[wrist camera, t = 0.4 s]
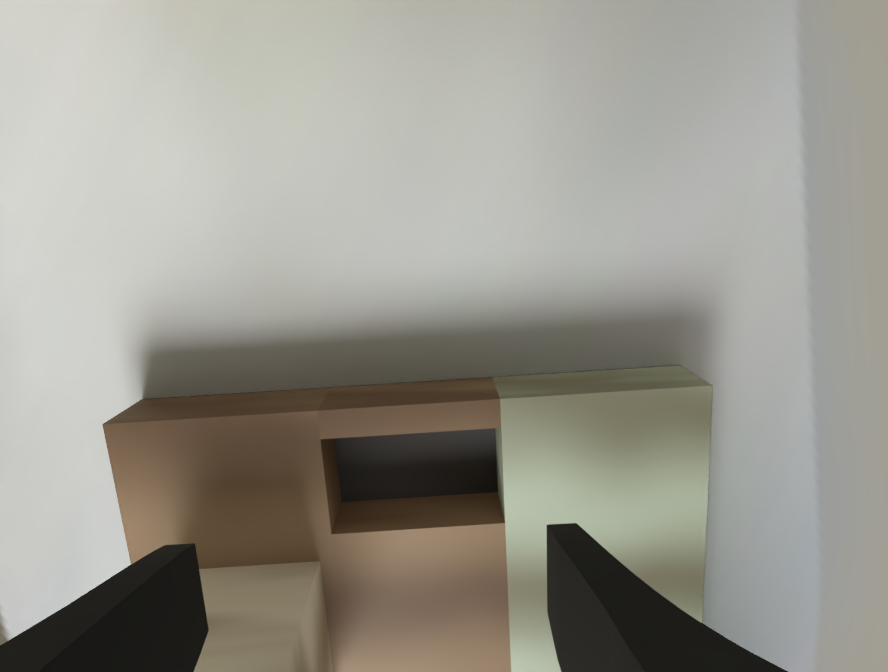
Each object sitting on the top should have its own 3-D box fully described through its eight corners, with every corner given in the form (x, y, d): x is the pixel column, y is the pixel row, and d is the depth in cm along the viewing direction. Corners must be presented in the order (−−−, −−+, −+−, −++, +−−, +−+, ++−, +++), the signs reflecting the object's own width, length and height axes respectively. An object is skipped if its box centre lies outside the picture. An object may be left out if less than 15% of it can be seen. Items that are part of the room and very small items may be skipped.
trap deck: (668, 720, 24) (695, 777, 22) (207, 751, 24) (181, 812, 22) (680, 365, 21) (713, 385, 18) (141, 399, 21) (102, 424, 18)
